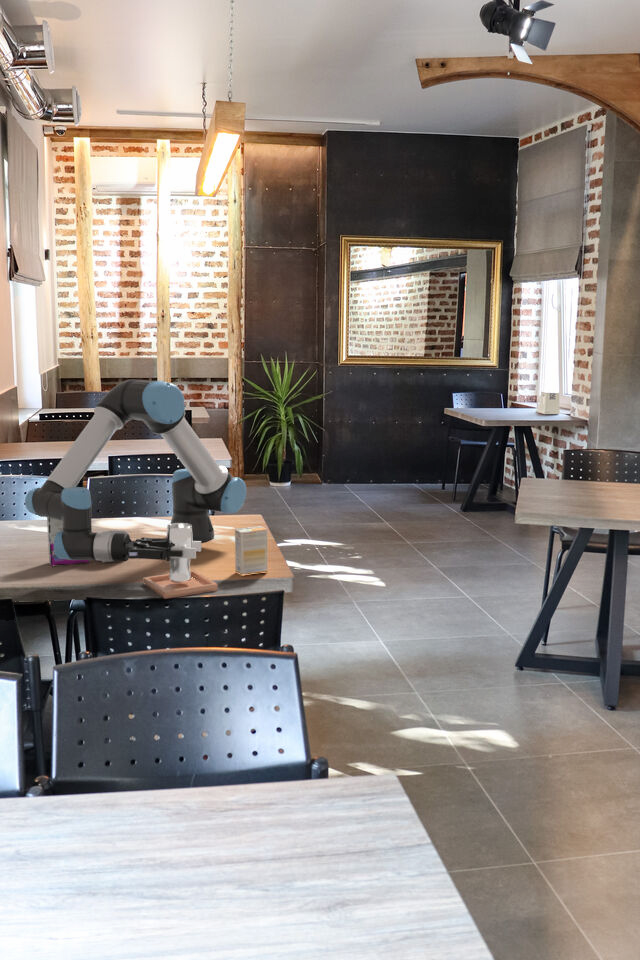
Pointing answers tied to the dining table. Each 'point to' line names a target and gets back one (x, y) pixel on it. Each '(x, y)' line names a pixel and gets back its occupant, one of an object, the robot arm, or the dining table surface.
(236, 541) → the supplement box
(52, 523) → the candy bar box
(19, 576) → the dining table surface
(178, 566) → the steel tumbler
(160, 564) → the dining table surface
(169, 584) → the tray
